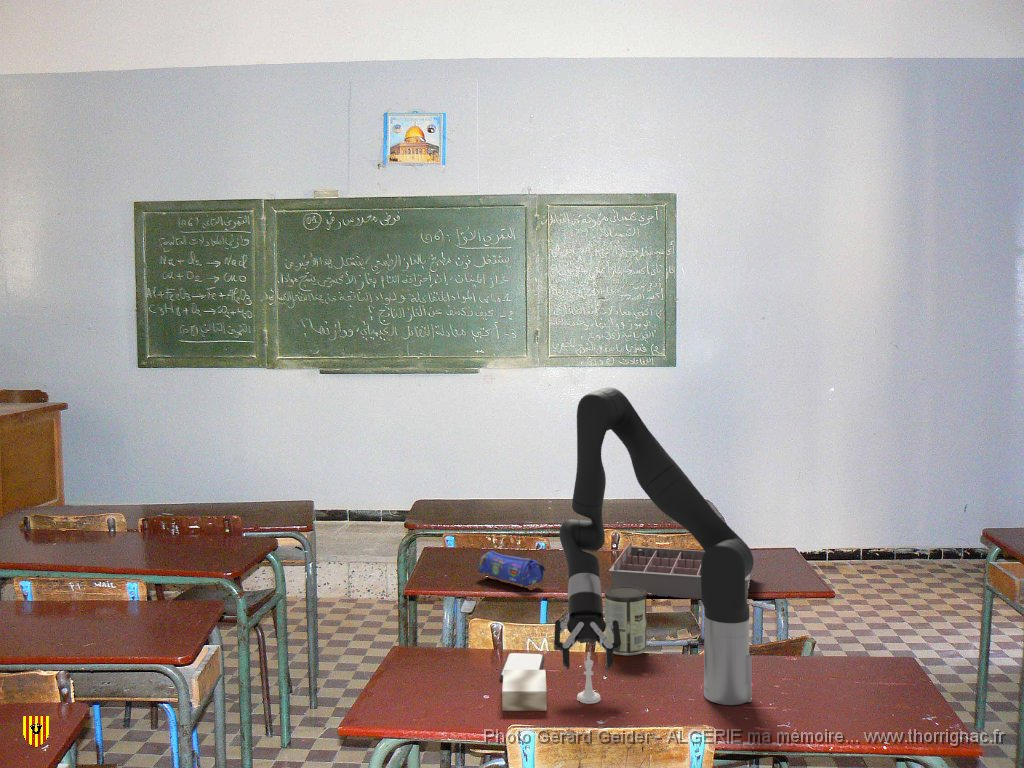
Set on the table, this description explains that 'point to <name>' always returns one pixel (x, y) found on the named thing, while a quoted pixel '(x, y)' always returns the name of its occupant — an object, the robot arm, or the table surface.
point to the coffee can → (627, 617)
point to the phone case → (522, 662)
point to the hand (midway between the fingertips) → (588, 668)
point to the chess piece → (588, 685)
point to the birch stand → (524, 690)
